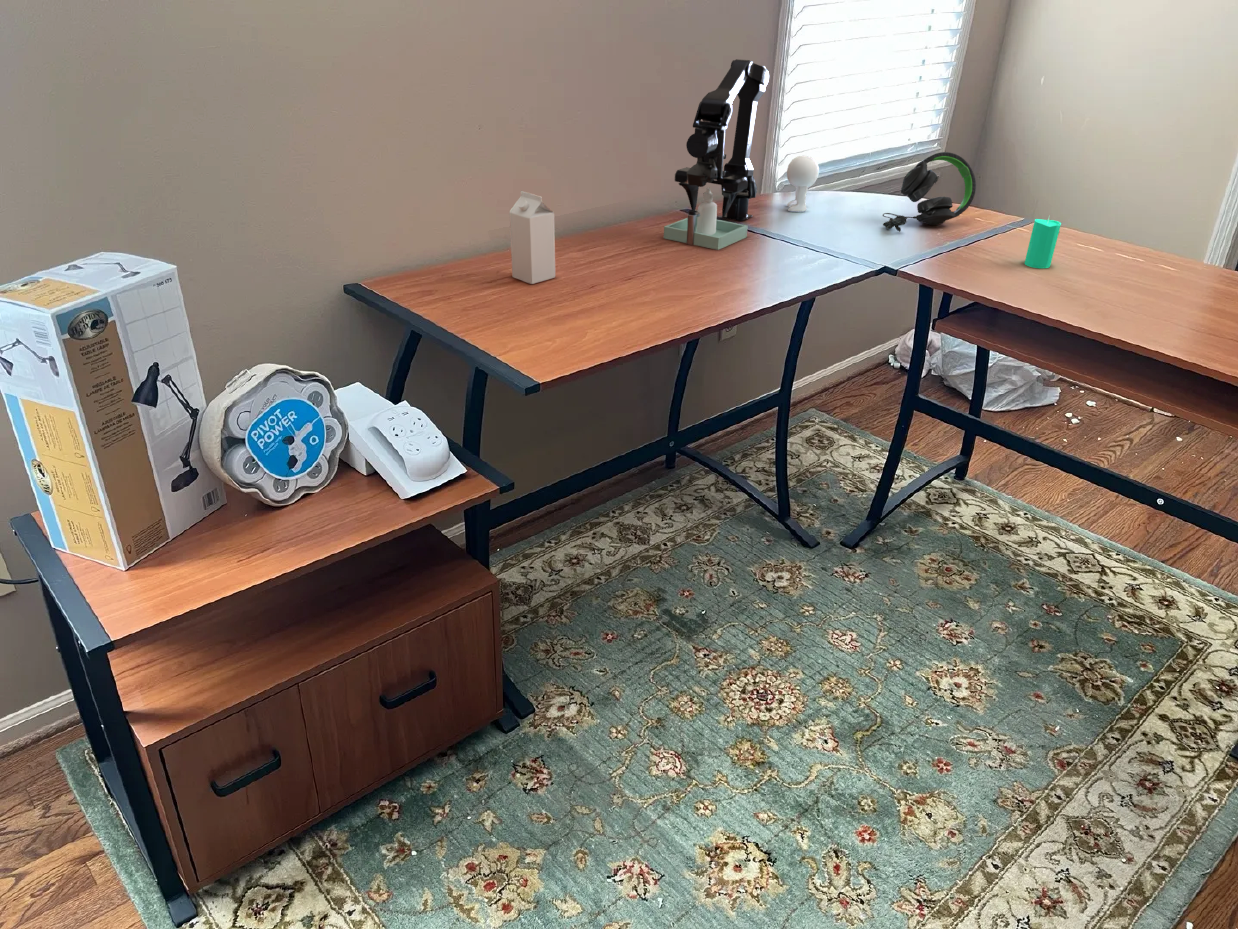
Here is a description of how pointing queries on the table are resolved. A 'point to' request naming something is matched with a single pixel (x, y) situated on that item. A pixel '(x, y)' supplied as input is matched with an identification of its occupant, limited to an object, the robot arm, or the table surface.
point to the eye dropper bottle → (707, 214)
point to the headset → (921, 183)
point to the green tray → (722, 237)
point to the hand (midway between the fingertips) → (708, 213)
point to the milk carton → (532, 239)
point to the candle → (1042, 243)
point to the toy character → (801, 180)
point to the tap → (691, 226)
